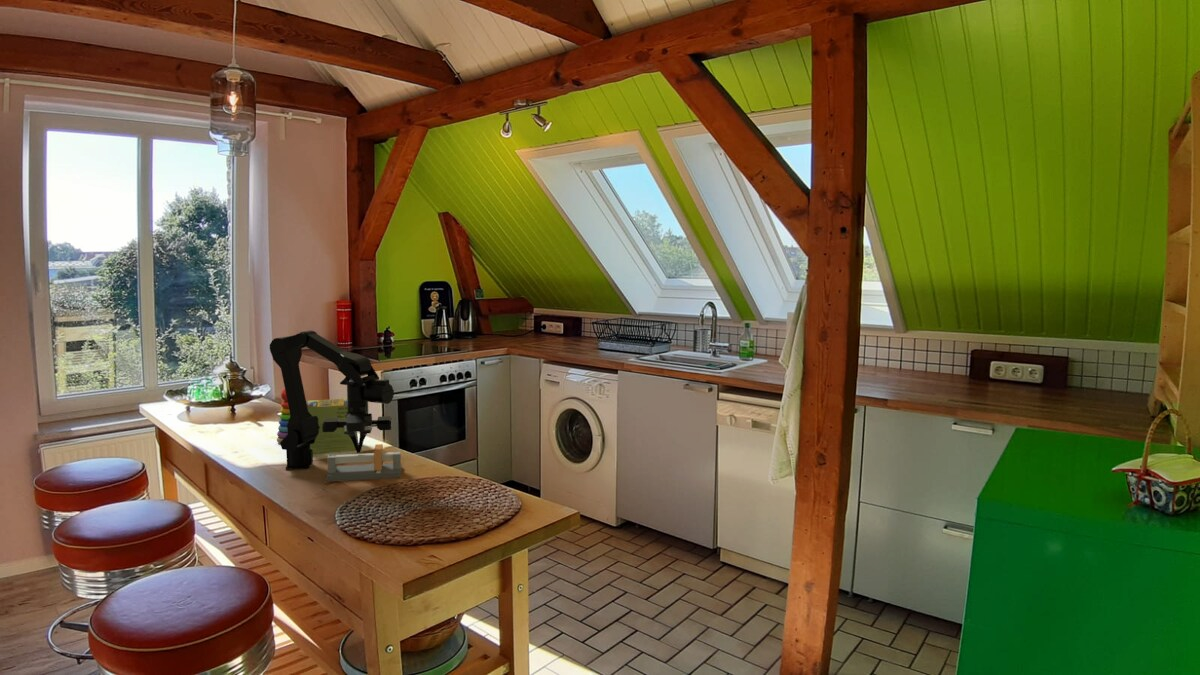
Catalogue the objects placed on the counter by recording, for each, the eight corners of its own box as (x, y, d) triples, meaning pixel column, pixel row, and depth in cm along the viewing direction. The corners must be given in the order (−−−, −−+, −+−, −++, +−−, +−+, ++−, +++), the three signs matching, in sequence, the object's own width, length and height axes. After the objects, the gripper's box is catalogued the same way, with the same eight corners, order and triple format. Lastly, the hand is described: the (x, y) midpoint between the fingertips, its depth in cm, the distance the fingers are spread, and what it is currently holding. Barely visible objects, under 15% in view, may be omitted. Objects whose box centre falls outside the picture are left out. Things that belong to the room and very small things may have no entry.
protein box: (357, 450, 221) (356, 404, 219) (306, 454, 216) (304, 407, 214) (357, 442, 231) (356, 397, 229) (308, 445, 225) (306, 400, 223)
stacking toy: (292, 445, 225) (290, 390, 222) (271, 443, 226) (269, 389, 224) (307, 439, 232) (305, 385, 230) (287, 437, 234) (284, 384, 231)
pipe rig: (326, 481, 192) (325, 460, 191) (331, 471, 200) (330, 451, 199) (399, 477, 196) (399, 457, 195) (401, 467, 205) (401, 448, 204)
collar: (374, 470, 196) (373, 450, 195) (376, 464, 202) (375, 444, 201) (381, 470, 196) (381, 450, 195) (383, 463, 202) (382, 444, 201)
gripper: (318, 407, 185) (319, 462, 187) (389, 406, 190) (390, 459, 192) (324, 398, 196) (325, 450, 198) (392, 397, 200) (392, 448, 202)
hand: (358, 452), depth 197 cm, fingers closed
